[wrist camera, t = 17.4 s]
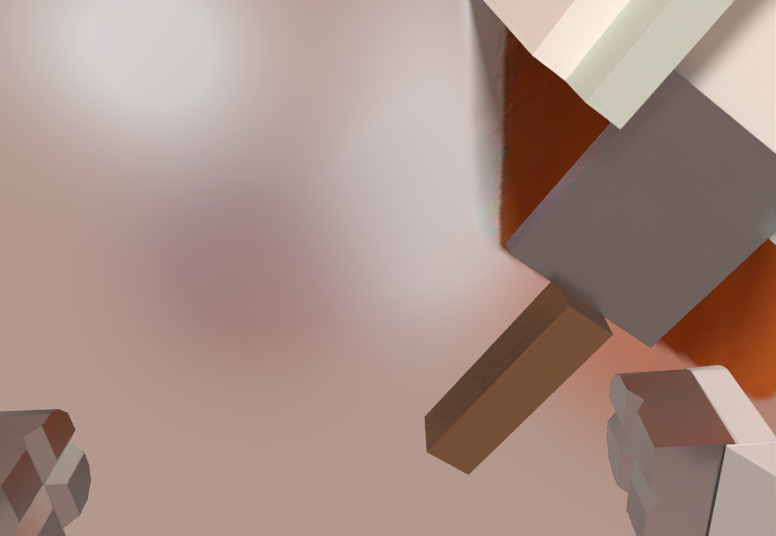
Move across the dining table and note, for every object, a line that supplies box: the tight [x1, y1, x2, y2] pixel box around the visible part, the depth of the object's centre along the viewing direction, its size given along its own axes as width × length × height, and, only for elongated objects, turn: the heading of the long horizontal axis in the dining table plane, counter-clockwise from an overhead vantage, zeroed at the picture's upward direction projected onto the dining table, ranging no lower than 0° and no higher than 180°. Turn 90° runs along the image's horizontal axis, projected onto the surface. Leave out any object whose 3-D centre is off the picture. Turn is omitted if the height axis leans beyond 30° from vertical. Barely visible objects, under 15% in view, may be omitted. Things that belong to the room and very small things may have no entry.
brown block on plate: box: [425, 69, 776, 474], centre depth 29 cm, size 18×8×2 cm, turn 145°
